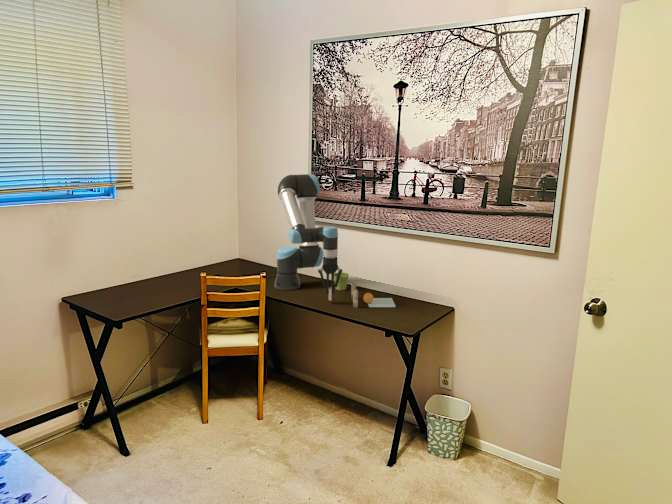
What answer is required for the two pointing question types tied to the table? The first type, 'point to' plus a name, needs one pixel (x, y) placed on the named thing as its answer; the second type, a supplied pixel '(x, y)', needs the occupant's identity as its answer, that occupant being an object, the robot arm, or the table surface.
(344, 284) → the plant pot
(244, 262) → the table surface
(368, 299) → the ball
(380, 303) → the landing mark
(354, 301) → the gate post
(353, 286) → the gate post
